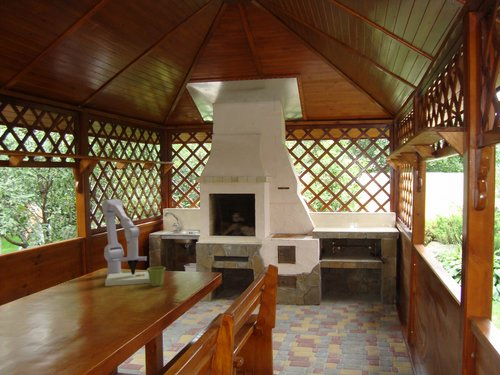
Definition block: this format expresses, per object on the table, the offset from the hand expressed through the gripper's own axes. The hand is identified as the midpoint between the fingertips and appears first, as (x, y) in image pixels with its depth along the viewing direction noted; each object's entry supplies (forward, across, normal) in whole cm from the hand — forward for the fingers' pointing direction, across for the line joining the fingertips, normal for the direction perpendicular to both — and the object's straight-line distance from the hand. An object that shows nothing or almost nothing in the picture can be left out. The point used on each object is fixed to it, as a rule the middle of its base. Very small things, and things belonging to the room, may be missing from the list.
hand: (133, 274), depth 227 cm
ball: (+2, +4, 0) cm, 4 cm away
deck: (+3, -2, 0) cm, 4 cm away
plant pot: (+4, +12, -14) cm, 19 cm away
